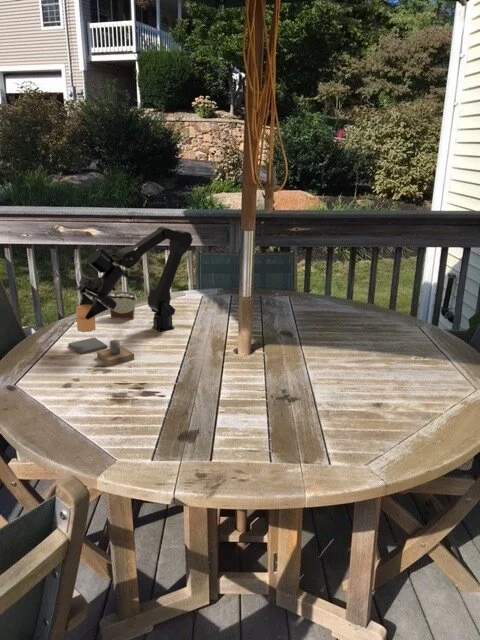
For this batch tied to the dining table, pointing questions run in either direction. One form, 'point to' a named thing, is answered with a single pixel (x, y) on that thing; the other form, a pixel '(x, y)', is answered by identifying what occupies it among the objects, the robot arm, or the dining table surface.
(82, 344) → the mat
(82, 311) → the orange rounded bulb shape
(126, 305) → the food container
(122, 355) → the post stand
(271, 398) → the dining table surface
